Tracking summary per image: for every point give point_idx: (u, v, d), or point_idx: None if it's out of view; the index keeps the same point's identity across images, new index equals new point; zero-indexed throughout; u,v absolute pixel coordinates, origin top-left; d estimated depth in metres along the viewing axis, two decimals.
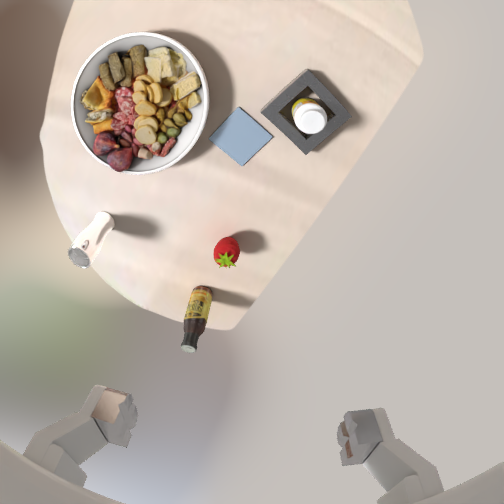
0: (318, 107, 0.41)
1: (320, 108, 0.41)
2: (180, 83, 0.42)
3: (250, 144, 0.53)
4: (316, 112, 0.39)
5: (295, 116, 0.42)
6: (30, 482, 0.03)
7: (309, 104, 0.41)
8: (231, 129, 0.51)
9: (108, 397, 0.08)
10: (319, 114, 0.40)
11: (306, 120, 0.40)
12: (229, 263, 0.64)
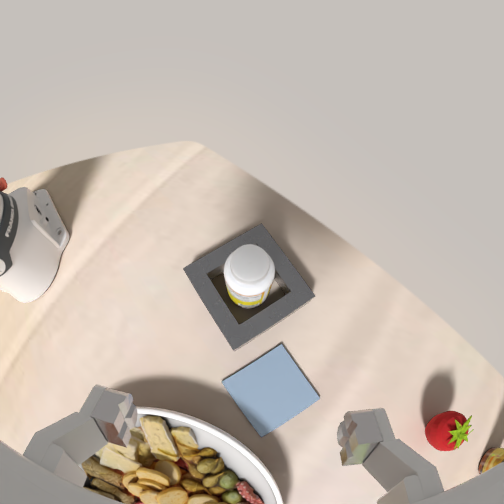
0: (231, 255, 0.31)
1: (234, 252, 0.31)
2: (151, 442, 0.25)
3: (286, 378, 0.33)
4: (234, 254, 0.28)
5: (241, 292, 0.29)
6: (30, 482, 0.03)
7: (225, 267, 0.30)
8: (255, 401, 0.31)
9: (108, 397, 0.08)
10: (238, 250, 0.29)
11: (244, 271, 0.28)
12: (465, 426, 0.22)
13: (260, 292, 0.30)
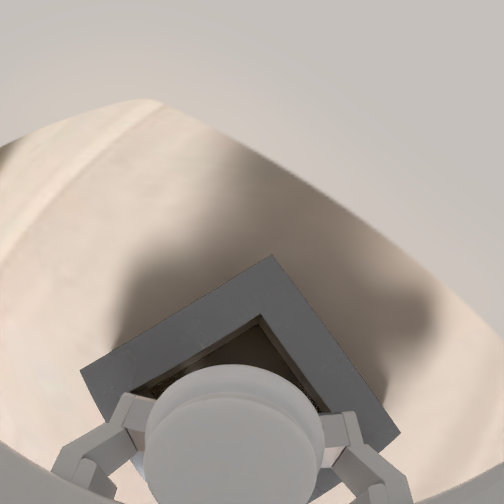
0: (166, 401, 0.07)
1: (174, 391, 0.07)
2: None
3: None
4: (157, 441, 0.05)
5: None
6: (30, 482, 0.03)
7: (146, 438, 0.07)
8: None
9: (139, 405, 0.08)
10: (174, 427, 0.05)
11: None
12: None
13: None
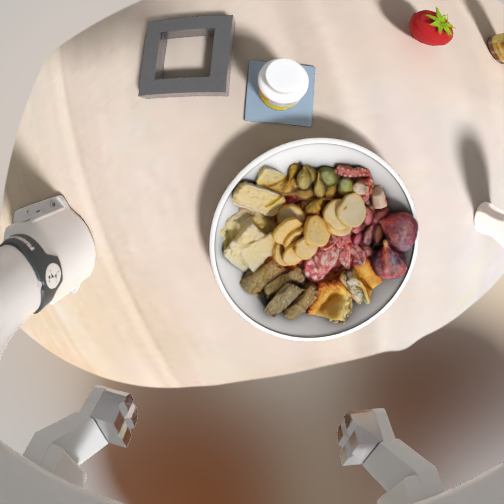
0: (260, 77, 0.26)
1: (260, 74, 0.26)
2: (257, 207, 0.36)
3: None
4: (267, 76, 0.24)
5: (290, 101, 0.27)
6: (30, 482, 0.03)
7: (262, 90, 0.26)
8: None
9: (108, 397, 0.08)
10: (268, 71, 0.24)
11: (287, 85, 0.24)
12: (440, 16, 0.20)
13: (305, 92, 0.26)
